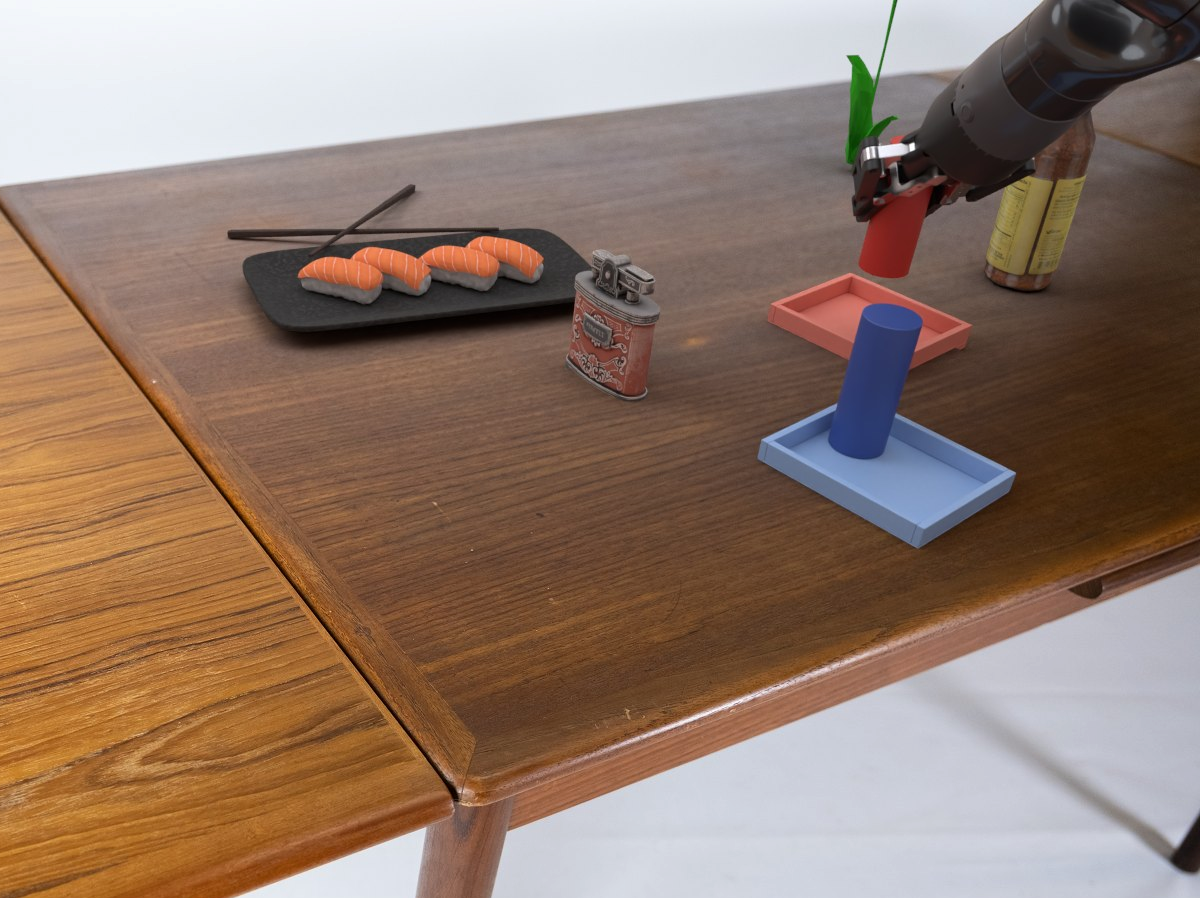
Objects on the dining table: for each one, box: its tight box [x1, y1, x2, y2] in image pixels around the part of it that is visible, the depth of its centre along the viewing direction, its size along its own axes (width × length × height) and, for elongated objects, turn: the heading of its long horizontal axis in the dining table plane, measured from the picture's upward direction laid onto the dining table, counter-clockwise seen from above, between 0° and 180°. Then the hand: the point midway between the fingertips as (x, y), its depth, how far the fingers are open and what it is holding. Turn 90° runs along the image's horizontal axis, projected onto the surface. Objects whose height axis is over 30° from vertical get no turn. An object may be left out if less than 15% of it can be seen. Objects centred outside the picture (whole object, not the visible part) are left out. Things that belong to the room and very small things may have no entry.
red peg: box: [857, 134, 934, 279], centre depth 100 cm, size 4×4×10 cm
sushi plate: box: [226, 183, 592, 333], centre depth 112 cm, size 29×30×4 cm
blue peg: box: [828, 303, 923, 459], centre depth 88 cm, size 4×4×10 cm
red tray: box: [766, 272, 973, 371], centre depth 106 cm, size 12×11×2 cm
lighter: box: [564, 249, 661, 403], centre depth 94 cm, size 8×3×10 cm, turn 35°
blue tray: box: [757, 403, 1017, 549], centre depth 88 cm, size 13×11×2 cm
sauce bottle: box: [983, 108, 1097, 292], centre depth 112 cm, size 6×6×20 cm
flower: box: [844, 0, 899, 172], centre depth 130 cm, size 9×8×30 cm
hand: (885, 210), depth 102 cm, fingers closed on red peg, 4 cm apart
